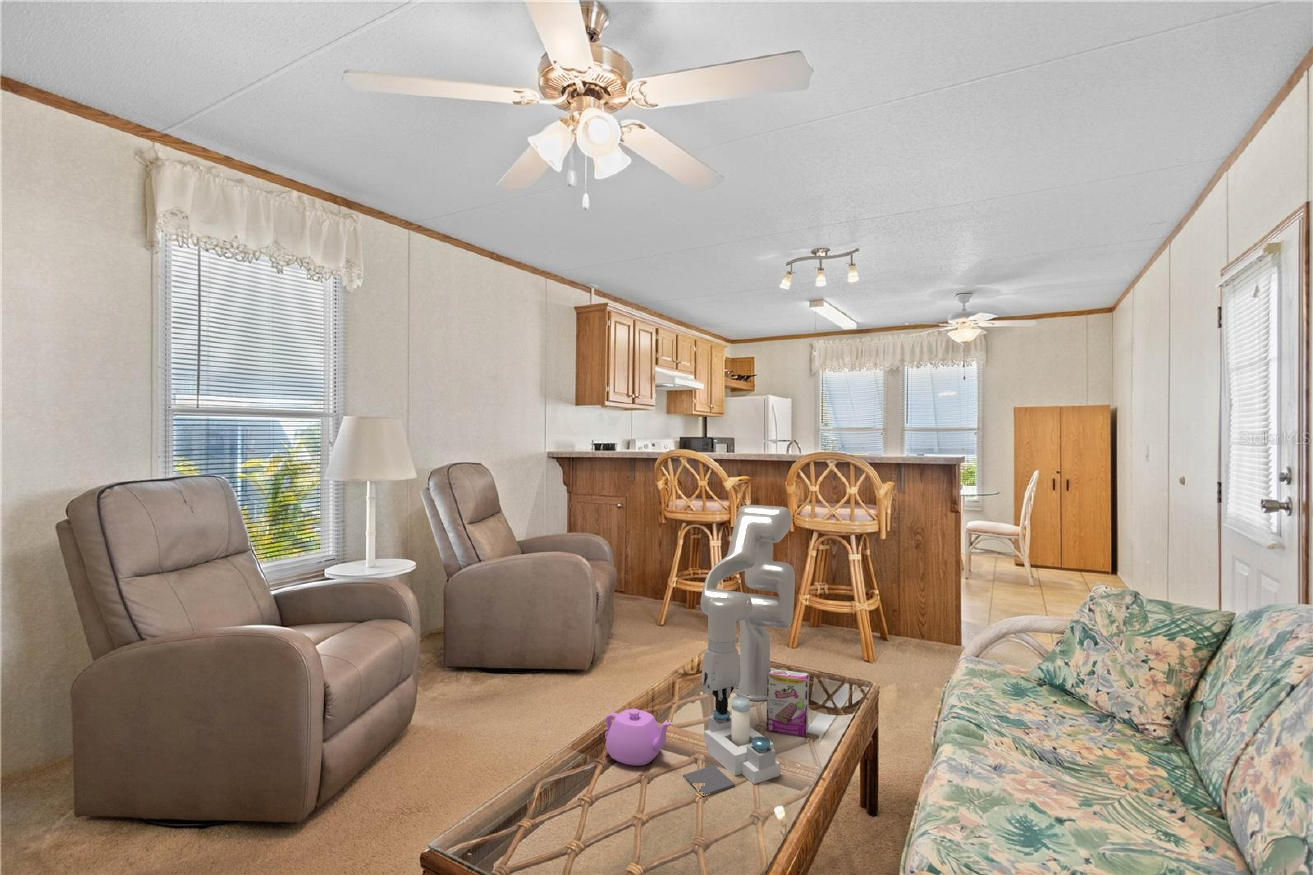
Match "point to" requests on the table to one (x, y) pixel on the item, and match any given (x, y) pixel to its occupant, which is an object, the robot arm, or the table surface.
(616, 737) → the teapot
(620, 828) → the table surface
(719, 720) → the plunger
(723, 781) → the mat
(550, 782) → the table surface
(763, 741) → the plunger
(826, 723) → the table surface
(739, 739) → the cylinder
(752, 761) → the housing
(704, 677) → the robot arm
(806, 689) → the candy bar box
